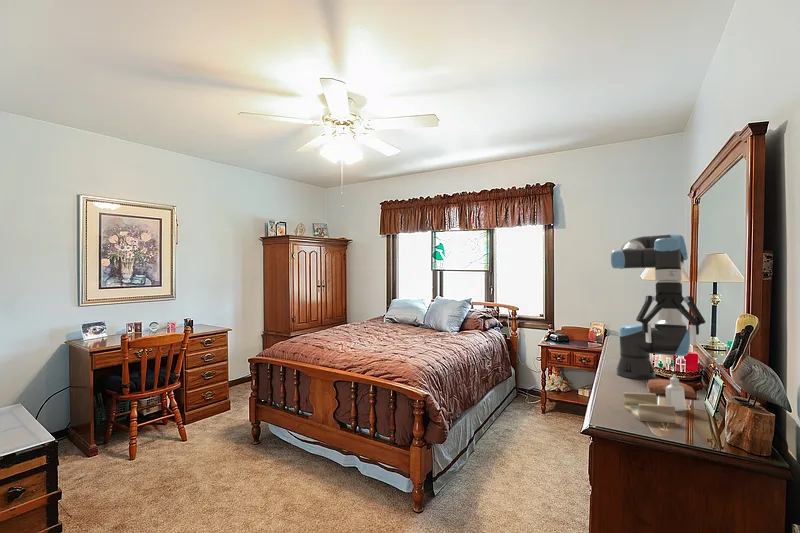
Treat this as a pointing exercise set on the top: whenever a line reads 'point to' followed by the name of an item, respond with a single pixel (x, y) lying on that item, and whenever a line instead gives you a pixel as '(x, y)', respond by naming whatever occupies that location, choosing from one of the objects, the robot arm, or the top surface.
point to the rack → (648, 407)
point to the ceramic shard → (660, 386)
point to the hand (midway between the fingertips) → (670, 343)
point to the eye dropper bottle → (675, 394)
